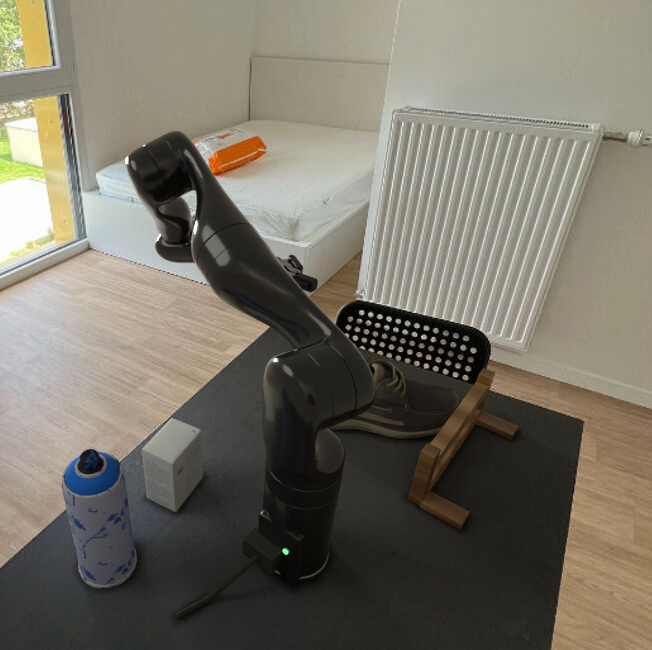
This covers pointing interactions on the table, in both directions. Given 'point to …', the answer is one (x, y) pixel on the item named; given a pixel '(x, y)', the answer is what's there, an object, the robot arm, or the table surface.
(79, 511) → the aerosol can
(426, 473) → the wooden display stand
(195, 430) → the small box
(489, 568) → the table surface
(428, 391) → the boat shoe
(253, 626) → the table surface
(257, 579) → the table surface
